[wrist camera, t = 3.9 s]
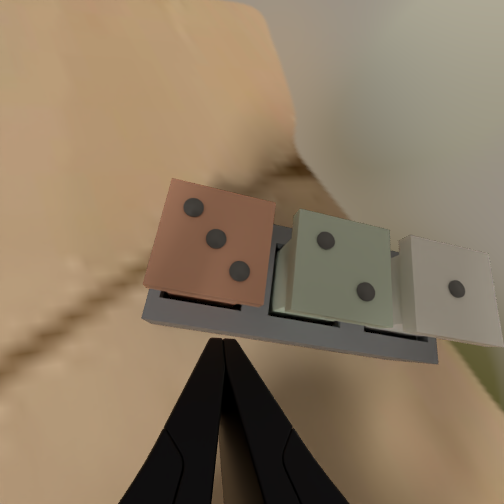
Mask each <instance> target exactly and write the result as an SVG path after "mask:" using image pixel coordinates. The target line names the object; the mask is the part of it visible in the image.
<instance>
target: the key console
mask: <svg viewBox="0 0 504 504" xmlns="http://www.w3.org/2000/svg"><path fill="white" fill-rule="evenodd" d="M291 238H292V228H288V227H284V226H279V225H275V224H273V231H272V239H271V248H270V256H269V264H268V272H267V281H266V289H265V297H264V305H262V306H260V307H253V306H248V305H242V304H240V307H239V311H238V310H232V309H226V308H220V307H214V306H208V305H202V304H196V303H190V302H184V301H178V300H172V299H169V295H168V292H166V291H161V290H155V289H149V292H148V295H147V299H146V303H145V307H144V310H143V314H142V318H141V319H143V320H145V321H147V322H149V323H151V324H157V325H163V326H170V327H176V328H183V329H189V330H196V331H202V332H209V333H216V334H222V335H229V336H235V337H242V338H248V339H255V340H261V341H268V342H274V343H281V344H288V345H294V346H301V347H307V348H314V349H320V350H327V351H333V352H340V353H346V354H353V355H360V356H366V357H373V358H379V359H386V360H393V361H405V362H416V363H428V364H438V354H437V342H436V338H433V337H427V336H410V337H402V336H396V335H391V334H385V333H382V335H380V334H374V333H368V332H364V326H363V325H358V324H352V323H346V322H340V321H333V326H327V325H321V324H315V323H309V322H303V321H297V320H291V319H285V318H279V317H273V316H268V310H269V302H270V293H271V284H272V275H273V267H274V258H275V255H276V254H277V253H278V252H279V251H280V250H281V248H282V247H283V246H284V245H285V244H286V243H287V242H288V241H289V240H290V239H291ZM390 252H391V258H393V257H395V256H398V255H399V252H395V251H390Z"/></svg>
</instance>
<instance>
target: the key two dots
mask: <svg viewBox="0 0 504 504" xmlns="http://www.w3.org/2000/svg"><path fill="white" fill-rule="evenodd" d="M268 314H273V315H279V316H285V317H290V318H296V319H302V320H308V321H314V322H320V323H325V322H331V321H340V322H346V323H352V324H358V325H363V326H369V327H375V328H393V308H392V280H391V252H390V230H388V229H384V228H380V227H375V226H371V225H367V224H363V223H359V222H355V221H351V220H346V219H342V218H338V217H334V216H330V215H325V214H321V213H317V212H313V211H308V210H304V209H299V210H298V211H297V213H296V214H295V215H294V217H293V228H292V238H291V239H290V240H289V241H288V242H287V243H286V244H285V245H284V246H283V247H282V248H281V250H280V251H279V252H278V253H277V254H276V255H275V258H274V267H273V275H272V284H271V293H270V302H269V310H268Z"/></svg>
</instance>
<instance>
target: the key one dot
mask: <svg viewBox="0 0 504 504" xmlns="http://www.w3.org/2000/svg"><path fill="white" fill-rule="evenodd" d="M391 280H392V308H393V328H375V327H369V326H364V330H367V331H373V332H379V333H385V334H391V335H396V336H402V337H410V336H427V337H433V338H439V339H444V340H450V341H456V342H462V343H468V344H473V345H479V346H485V347H504V343H503V337H502V331H501V325H500V319H499V313H498V307H497V301H496V295H495V289H494V283H493V276H492V270H491V264H490V258H489V253H485V252H481V251H476V250H472V249H468V248H464V247H460V246H455V245H451V244H447V243H443V242H438V241H435V240H430V239H426V238H422V237H417V236H413V235H409V236H407V237H405V238H403V239H401V240H399V255H398V256H395V257H393V258H391Z"/></svg>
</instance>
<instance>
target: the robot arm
mask: <svg viewBox="0 0 504 504" xmlns="http://www.w3.org/2000/svg"><path fill="white" fill-rule="evenodd" d="M218 435H219V447H220V459H221V472H222V485H223V498H224V504H349V502H348V501H347V500H346V499H345V497H344V496H343V495H342V494H341V492H340V491H339V490H338V489H337V487H336V486H335V485H334V484H333V482H332V481H331V480H330V479H329V477H328V476H327V475H326V473H325V472H324V471H323V469H322V468H321V467H320V465H319V464H318V463H317V461H316V460H315V459H314V457H313V456H312V454H311V453H310V452H309V450H308V449H307V447H306V446H305V444H304V443H303V441H302V440H301V438H300V437H299V435H298V434H297V432H296V431H295V429H292V425H291V423H290V422H289V420H288V419H287V417H286V416H285V414H284V412H283V411H282V409H281V408H280V406H279V405H278V403H277V402H276V400H275V399H274V397H273V396H272V394H271V393H270V391H269V390H268V388H267V386H266V385H265V383H264V382H263V380H262V379H261V377H260V376H259V374H258V373H257V371H256V370H255V368H254V367H253V365H252V363H251V362H250V360H249V359H248V357H247V356H246V354H245V353H244V351H243V350H242V348H241V347H240V345H239V344H238V342H237V341H236V340H235V339H227V338H225V339H223V340H222V338H210V339H209V341H208V343H207V344H206V346H205V348H204V350H203V352H202V354H201V356H200V358H199V360H198V362H197V364H196V366H195V368H194V370H193V372H192V374H191V375H190V377H189V379H188V381H187V383H186V385H185V387H184V389H183V391H182V393H181V395H180V397H179V399H178V401H177V403H176V405H175V406H174V408H173V410H172V412H171V414H170V416H169V418H168V420H167V422H166V424H165V426H164V429H163V430H162V431H161V433H160V435H159V437H158V439H157V441H156V443H155V445H154V446H153V448H152V450H151V452H150V454H149V455H148V457H147V459H146V461H145V463H144V464H143V466H142V468H141V469H140V471H139V472H138V474H137V476H136V477H135V479H134V480H133V482H132V483H131V485H130V487H129V488H128V490H127V491H126V493H125V494H124V496H123V497H122V499H121V500H120V502H119V503H118V504H211V501H212V492H213V482H214V473H215V464H216V454H217V445H218Z"/></svg>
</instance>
